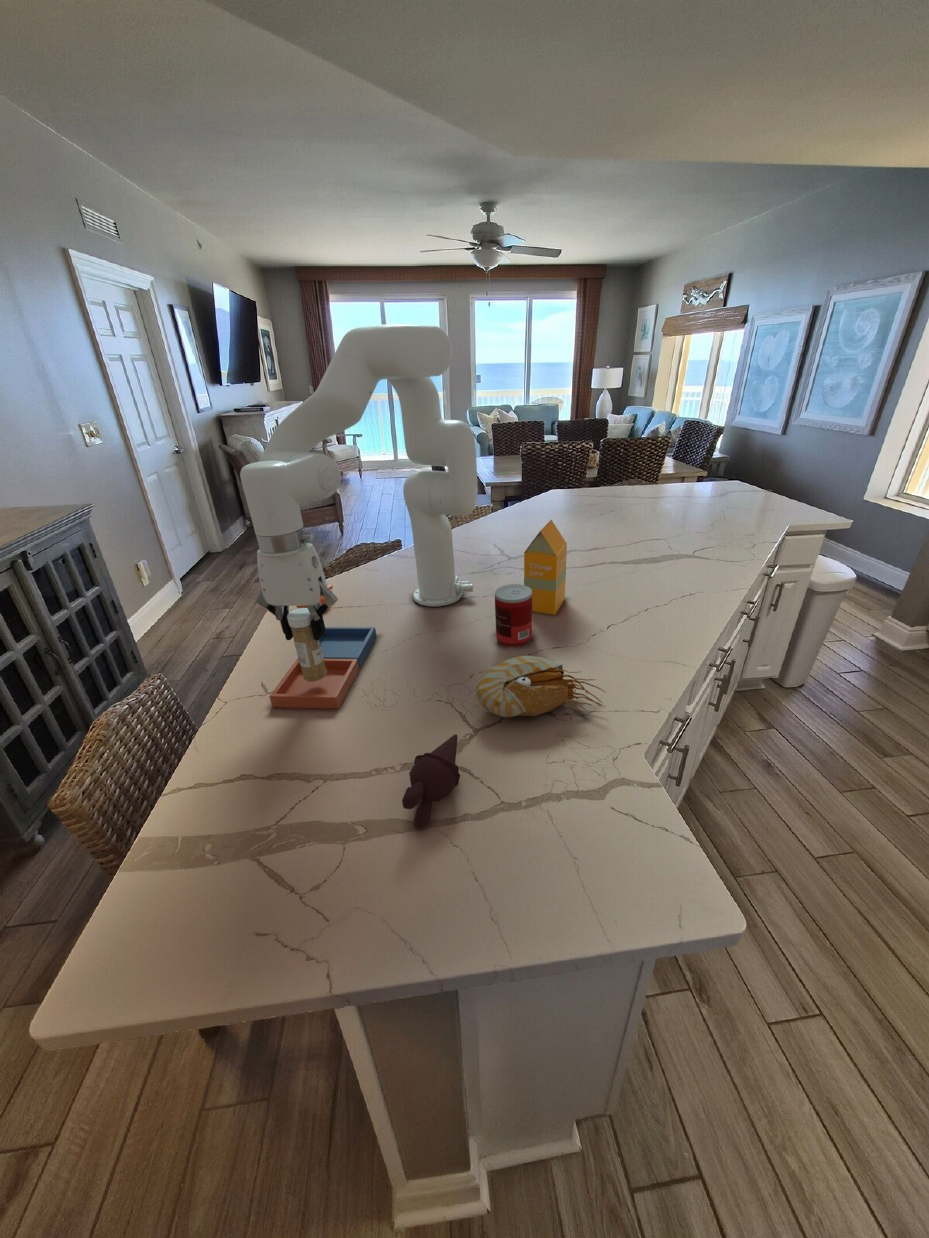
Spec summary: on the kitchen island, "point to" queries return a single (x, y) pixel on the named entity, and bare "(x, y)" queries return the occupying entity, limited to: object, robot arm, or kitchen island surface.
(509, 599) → the canned food
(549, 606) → the orange juice
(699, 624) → the kitchen island surface
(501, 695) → the nautilus
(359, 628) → the slate tray
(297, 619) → the sprinkles bottle
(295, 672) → the terracotta tray
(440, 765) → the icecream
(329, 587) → the orange toy motorcycle
